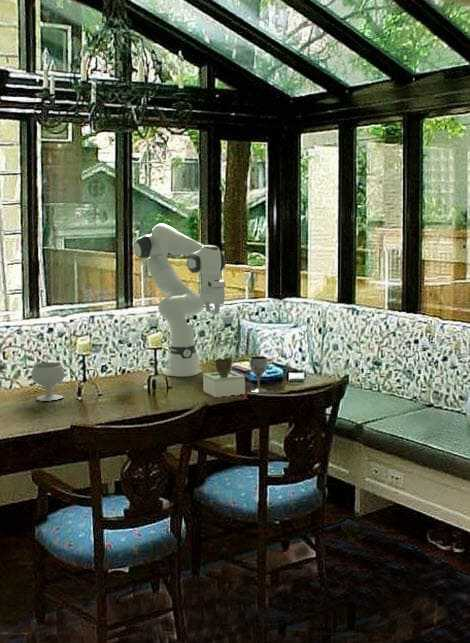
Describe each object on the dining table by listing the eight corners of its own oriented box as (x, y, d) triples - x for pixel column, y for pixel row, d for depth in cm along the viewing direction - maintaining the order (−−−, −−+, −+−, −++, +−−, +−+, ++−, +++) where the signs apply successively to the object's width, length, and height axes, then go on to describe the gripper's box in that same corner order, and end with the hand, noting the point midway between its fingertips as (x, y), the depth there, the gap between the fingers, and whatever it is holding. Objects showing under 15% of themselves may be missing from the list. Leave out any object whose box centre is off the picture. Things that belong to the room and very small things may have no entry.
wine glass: (262, 388, 399) (262, 355, 397) (271, 391, 392) (270, 358, 390) (246, 390, 396) (246, 357, 394) (255, 393, 389) (254, 360, 387)
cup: (232, 375, 394) (232, 357, 393) (231, 378, 387) (231, 360, 386) (216, 375, 395) (215, 357, 394) (214, 378, 387) (214, 360, 386)
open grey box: (203, 391, 395) (203, 373, 394) (232, 387, 401) (232, 370, 400) (215, 397, 383) (215, 379, 382) (245, 394, 388) (244, 376, 387)
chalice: (30, 397, 389) (28, 363, 387) (62, 394, 395) (60, 360, 392) (35, 404, 377) (34, 369, 374) (68, 400, 382) (67, 366, 380)
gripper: (196, 280, 404) (197, 310, 406) (213, 284, 385) (214, 315, 387) (209, 279, 406) (210, 309, 408) (226, 283, 388) (227, 314, 390)
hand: (212, 312), depth 398 cm, fingers open, 8 cm apart
